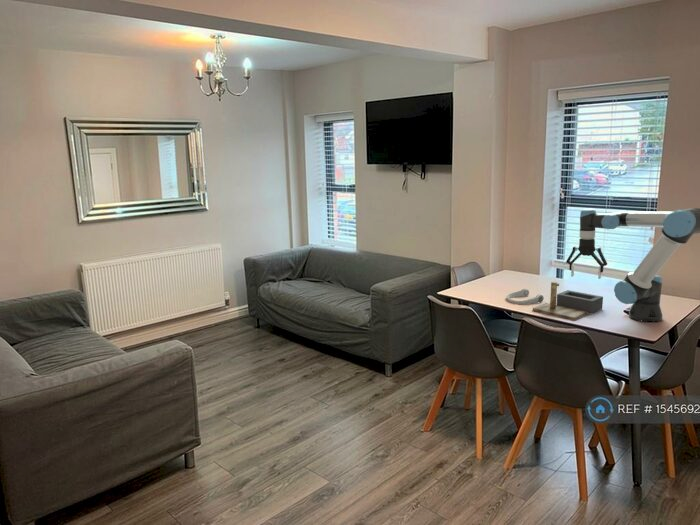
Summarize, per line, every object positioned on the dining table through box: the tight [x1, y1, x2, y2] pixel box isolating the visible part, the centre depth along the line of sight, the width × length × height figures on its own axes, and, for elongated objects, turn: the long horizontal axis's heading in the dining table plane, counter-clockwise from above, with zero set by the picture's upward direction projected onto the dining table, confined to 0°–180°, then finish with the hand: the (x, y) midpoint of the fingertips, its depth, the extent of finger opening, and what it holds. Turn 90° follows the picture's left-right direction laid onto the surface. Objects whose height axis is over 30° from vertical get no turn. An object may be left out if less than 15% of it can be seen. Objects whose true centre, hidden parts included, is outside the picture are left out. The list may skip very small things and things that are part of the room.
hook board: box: [531, 281, 589, 321], centre depth 279 cm, size 24×14×16 cm, turn 40°
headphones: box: [506, 288, 544, 305], centre depth 306 cm, size 18×17×5 cm
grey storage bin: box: [556, 289, 604, 314], centre depth 288 cm, size 20×12×7 cm, turn 40°
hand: (585, 277), depth 281 cm, fingers open, 13 cm apart
